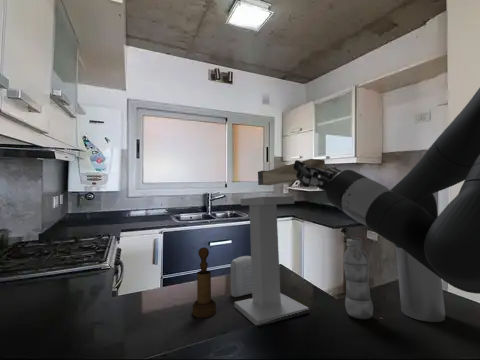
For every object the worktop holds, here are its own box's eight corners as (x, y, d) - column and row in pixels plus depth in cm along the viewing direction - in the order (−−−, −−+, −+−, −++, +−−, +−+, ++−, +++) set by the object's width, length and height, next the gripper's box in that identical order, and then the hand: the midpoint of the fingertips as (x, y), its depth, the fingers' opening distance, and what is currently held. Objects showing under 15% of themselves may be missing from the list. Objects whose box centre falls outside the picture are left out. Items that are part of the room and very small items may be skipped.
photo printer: (253, 288, 89) (252, 253, 90) (260, 291, 86) (259, 255, 87) (229, 295, 83) (228, 257, 85) (235, 298, 80) (234, 259, 81)
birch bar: (270, 185, 75) (270, 172, 76) (326, 175, 55) (325, 157, 55) (258, 185, 74) (257, 171, 74) (310, 174, 53) (309, 156, 53)
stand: (279, 297, 80) (275, 198, 83) (309, 313, 67) (302, 196, 71) (234, 307, 73) (231, 199, 76) (258, 327, 60) (253, 196, 64)
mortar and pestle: (205, 319, 65) (204, 250, 67) (187, 314, 69) (187, 248, 71) (220, 310, 71) (219, 246, 73) (203, 306, 74) (202, 245, 76)
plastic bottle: (351, 309, 69) (346, 236, 71) (377, 316, 64) (371, 238, 66) (341, 317, 65) (336, 239, 67) (369, 325, 60) (362, 241, 62)
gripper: (393, 179, 46) (330, 151, 60) (337, 177, 40) (282, 147, 54) (378, 214, 49) (321, 179, 63) (323, 217, 43) (274, 178, 57)
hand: (303, 164), depth 59 cm, fingers closed on birch bar, 4 cm apart
